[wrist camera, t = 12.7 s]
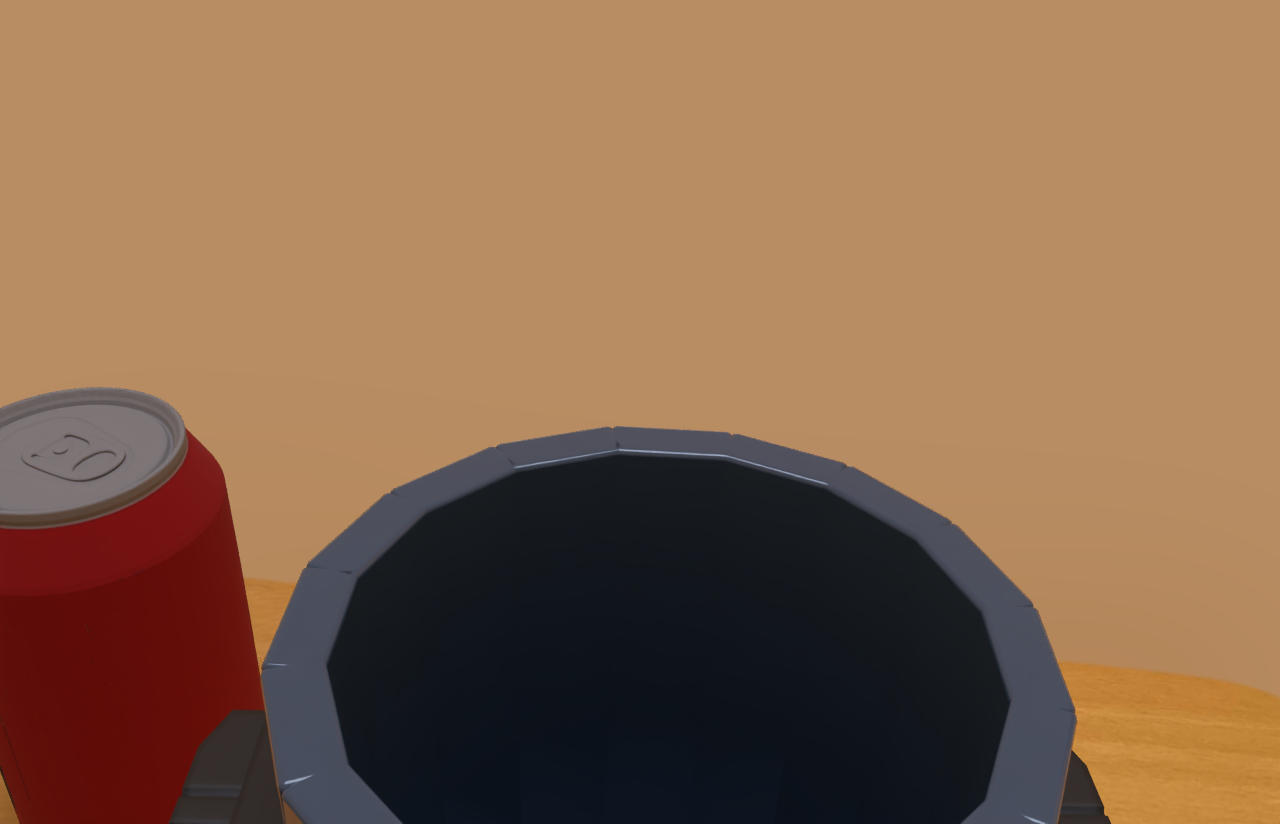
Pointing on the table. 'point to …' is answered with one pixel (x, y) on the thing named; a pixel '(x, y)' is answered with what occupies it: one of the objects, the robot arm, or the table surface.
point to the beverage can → (113, 607)
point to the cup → (661, 649)
